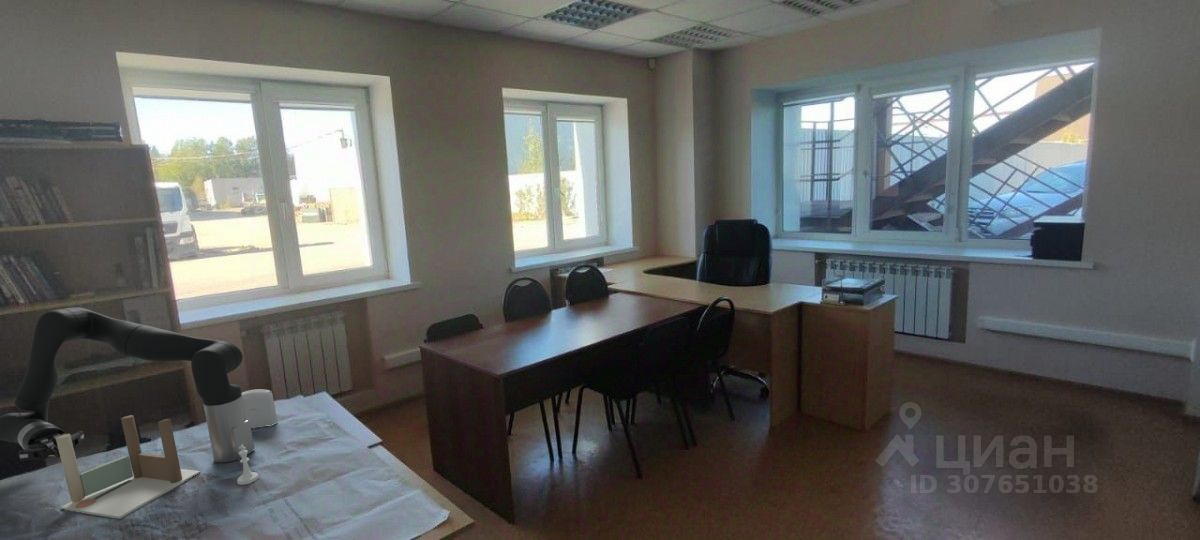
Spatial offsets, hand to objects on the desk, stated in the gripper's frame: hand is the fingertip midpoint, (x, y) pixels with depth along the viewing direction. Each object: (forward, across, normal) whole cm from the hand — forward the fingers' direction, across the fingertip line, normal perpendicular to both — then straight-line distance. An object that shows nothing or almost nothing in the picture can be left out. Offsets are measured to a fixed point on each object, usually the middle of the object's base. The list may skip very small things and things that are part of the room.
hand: (65, 453), depth 139 cm
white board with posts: (+7, +9, +13) cm, 18 cm away
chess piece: (+30, +26, +13) cm, 42 cm away
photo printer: (-1, +46, +14) cm, 48 cm away
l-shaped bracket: (+1, +5, +12) cm, 13 cm away
